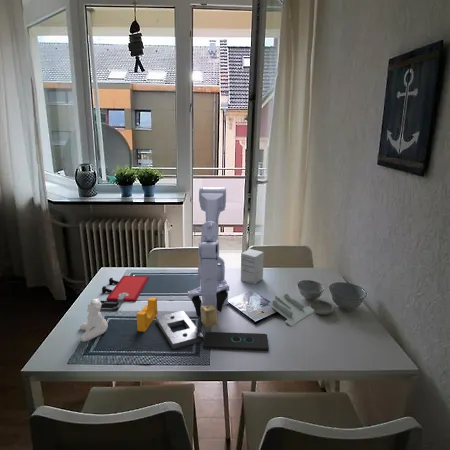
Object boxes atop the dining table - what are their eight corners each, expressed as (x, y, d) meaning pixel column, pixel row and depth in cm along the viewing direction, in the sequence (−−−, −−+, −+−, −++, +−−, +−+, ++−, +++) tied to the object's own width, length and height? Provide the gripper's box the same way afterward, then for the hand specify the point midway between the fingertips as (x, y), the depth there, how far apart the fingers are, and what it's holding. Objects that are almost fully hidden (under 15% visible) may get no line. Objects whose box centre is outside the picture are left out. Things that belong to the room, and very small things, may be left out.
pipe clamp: (146, 313, 134) (145, 296, 133) (157, 314, 134) (156, 297, 132) (132, 330, 123) (131, 313, 121) (145, 332, 122) (144, 314, 121)
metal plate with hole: (183, 315, 133) (183, 309, 132) (203, 340, 118) (203, 335, 117) (155, 321, 129) (155, 316, 128) (173, 349, 113) (173, 343, 113)
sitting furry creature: (79, 327, 124) (76, 295, 121) (106, 322, 127) (104, 290, 124) (81, 343, 116) (77, 308, 113) (110, 337, 119) (107, 303, 116)
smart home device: (268, 348, 112) (202, 345, 113) (268, 353, 113) (202, 350, 113) (267, 333, 120) (205, 330, 121) (266, 337, 121) (205, 335, 121)
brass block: (211, 319, 131) (211, 303, 129) (216, 324, 127) (216, 308, 125) (201, 321, 129) (201, 306, 127) (205, 327, 125) (205, 311, 124)
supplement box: (249, 274, 168) (249, 248, 165) (263, 278, 164) (264, 251, 161) (240, 280, 163) (240, 253, 159) (254, 284, 158) (255, 256, 155)
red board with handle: (89, 310, 135) (130, 312, 135) (88, 303, 135) (129, 305, 134) (115, 278, 164) (149, 279, 164) (115, 272, 164) (148, 273, 163)
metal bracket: (263, 300, 133) (287, 287, 143) (259, 312, 135) (283, 299, 146) (296, 324, 125) (318, 309, 135) (291, 337, 127) (313, 321, 138)
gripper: (193, 284, 117) (193, 323, 120) (233, 276, 123) (233, 313, 126) (185, 276, 123) (185, 313, 126) (224, 269, 129) (223, 305, 133)
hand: (208, 313), depth 127 cm, fingers open, 7 cm apart
